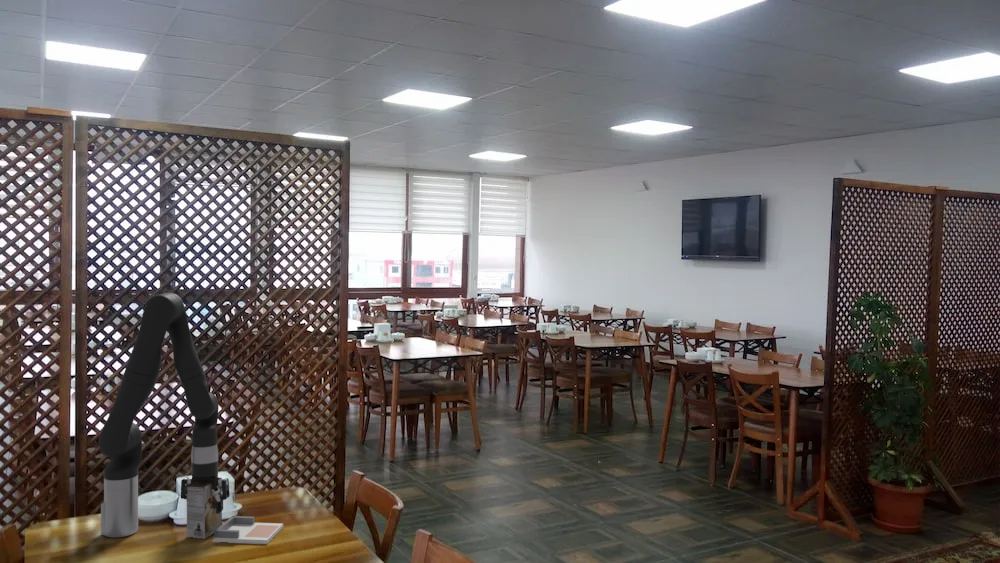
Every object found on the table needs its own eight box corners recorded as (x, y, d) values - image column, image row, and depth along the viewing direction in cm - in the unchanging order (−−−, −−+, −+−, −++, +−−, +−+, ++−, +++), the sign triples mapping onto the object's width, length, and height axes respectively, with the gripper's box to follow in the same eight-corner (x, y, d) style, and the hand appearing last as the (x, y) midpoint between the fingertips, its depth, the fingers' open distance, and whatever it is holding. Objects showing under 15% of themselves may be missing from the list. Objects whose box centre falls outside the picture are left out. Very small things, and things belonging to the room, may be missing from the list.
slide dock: (213, 542, 222) (213, 531, 222) (233, 525, 236) (233, 515, 236) (267, 544, 221) (267, 533, 221) (283, 527, 235) (283, 517, 235)
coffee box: (203, 527, 235) (204, 475, 234) (222, 528, 233) (222, 477, 233) (185, 537, 226) (186, 484, 225) (205, 539, 224) (205, 485, 224)
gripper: (175, 462, 225) (176, 516, 226) (222, 463, 225) (222, 517, 225) (187, 456, 233) (188, 508, 233) (232, 456, 232) (233, 509, 232)
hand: (205, 512), depth 229 cm, fingers open, 8 cm apart
